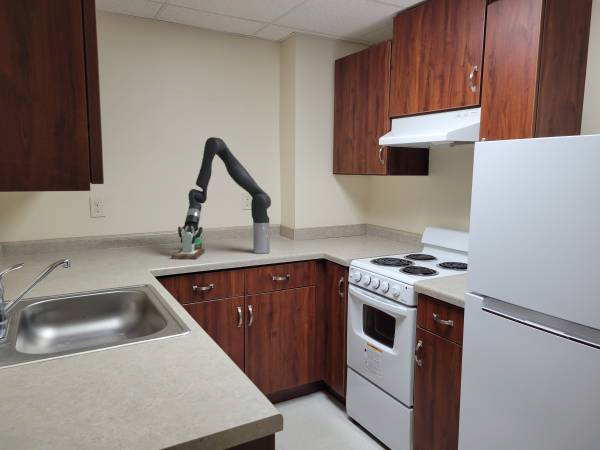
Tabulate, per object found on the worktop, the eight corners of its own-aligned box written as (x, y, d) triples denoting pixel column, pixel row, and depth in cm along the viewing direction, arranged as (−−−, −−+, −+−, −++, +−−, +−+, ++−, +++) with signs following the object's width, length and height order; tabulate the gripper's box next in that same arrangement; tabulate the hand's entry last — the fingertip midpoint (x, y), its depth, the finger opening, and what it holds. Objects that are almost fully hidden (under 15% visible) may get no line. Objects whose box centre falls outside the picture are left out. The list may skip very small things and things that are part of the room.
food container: (191, 251, 257) (191, 234, 256) (184, 250, 261) (184, 233, 259) (208, 248, 267) (207, 231, 265) (201, 247, 270) (200, 230, 269)
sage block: (194, 249, 248) (193, 231, 246) (191, 250, 243) (191, 233, 241) (185, 249, 248) (184, 231, 247) (182, 250, 243) (182, 233, 242)
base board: (204, 252, 254) (204, 248, 254) (196, 259, 237) (196, 255, 236) (181, 252, 255) (181, 248, 255) (171, 259, 237) (171, 255, 237)
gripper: (178, 214, 250) (172, 239, 240) (204, 214, 250) (199, 239, 240) (181, 222, 256) (176, 247, 246) (206, 222, 256) (201, 247, 246)
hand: (187, 243), depth 243 cm, fingers closed on sage block, 4 cm apart
